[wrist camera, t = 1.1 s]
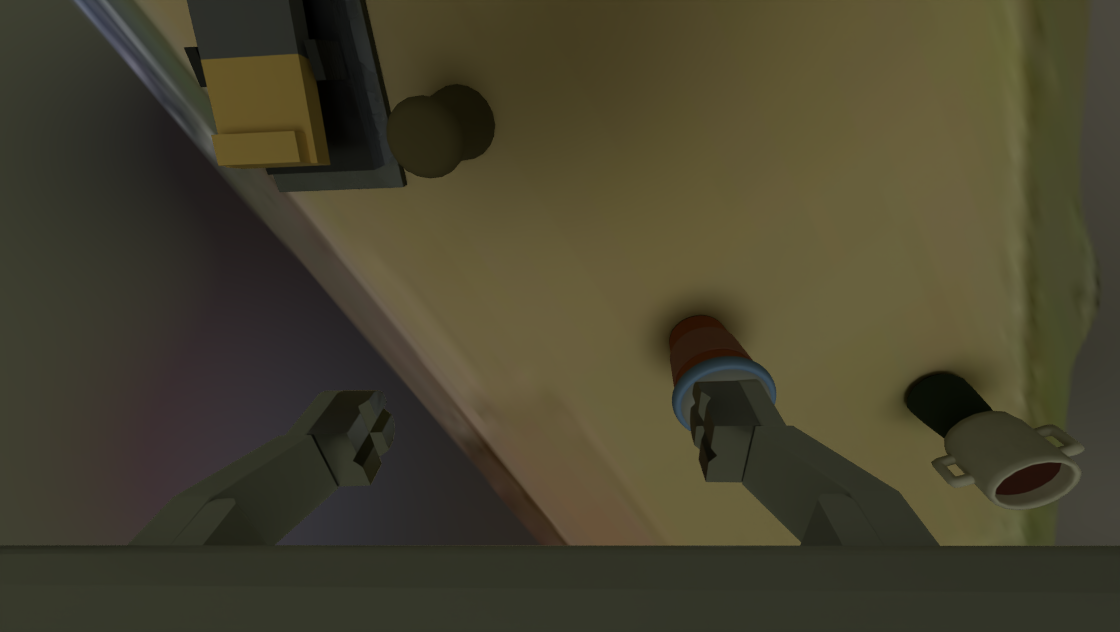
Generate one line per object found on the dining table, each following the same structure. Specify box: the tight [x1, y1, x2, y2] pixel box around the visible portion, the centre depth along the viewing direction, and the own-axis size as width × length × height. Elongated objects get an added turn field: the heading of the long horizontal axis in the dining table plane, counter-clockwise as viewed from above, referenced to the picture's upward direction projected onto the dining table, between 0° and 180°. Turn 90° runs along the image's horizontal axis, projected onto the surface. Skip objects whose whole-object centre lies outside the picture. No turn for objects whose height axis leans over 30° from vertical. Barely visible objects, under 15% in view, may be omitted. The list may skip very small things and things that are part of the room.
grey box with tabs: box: [184, 0, 407, 192], centre depth 32 cm, size 20×12×7 cm, turn 3°
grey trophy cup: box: [907, 374, 1085, 510], centre depth 43 cm, size 11×7×13 cm, turn 123°
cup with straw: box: [669, 316, 776, 431], centre depth 39 cm, size 9×9×18 cm
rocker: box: [187, 0, 330, 169], centre depth 29 cm, size 14×7×3 cm, turn 3°
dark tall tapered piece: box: [386, 84, 495, 178], centre depth 32 cm, size 6×6×11 cm
